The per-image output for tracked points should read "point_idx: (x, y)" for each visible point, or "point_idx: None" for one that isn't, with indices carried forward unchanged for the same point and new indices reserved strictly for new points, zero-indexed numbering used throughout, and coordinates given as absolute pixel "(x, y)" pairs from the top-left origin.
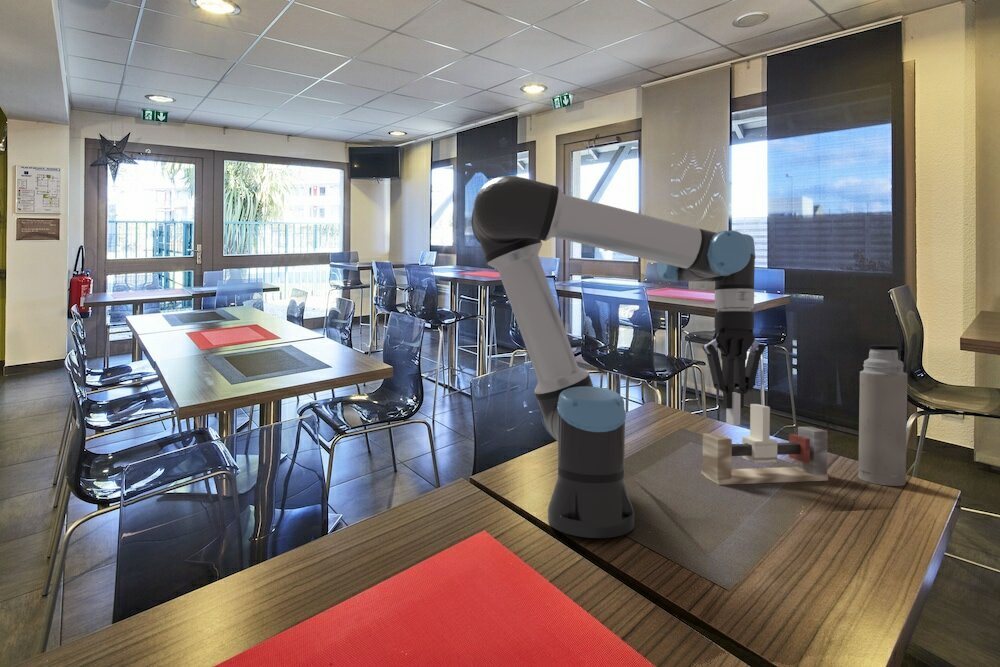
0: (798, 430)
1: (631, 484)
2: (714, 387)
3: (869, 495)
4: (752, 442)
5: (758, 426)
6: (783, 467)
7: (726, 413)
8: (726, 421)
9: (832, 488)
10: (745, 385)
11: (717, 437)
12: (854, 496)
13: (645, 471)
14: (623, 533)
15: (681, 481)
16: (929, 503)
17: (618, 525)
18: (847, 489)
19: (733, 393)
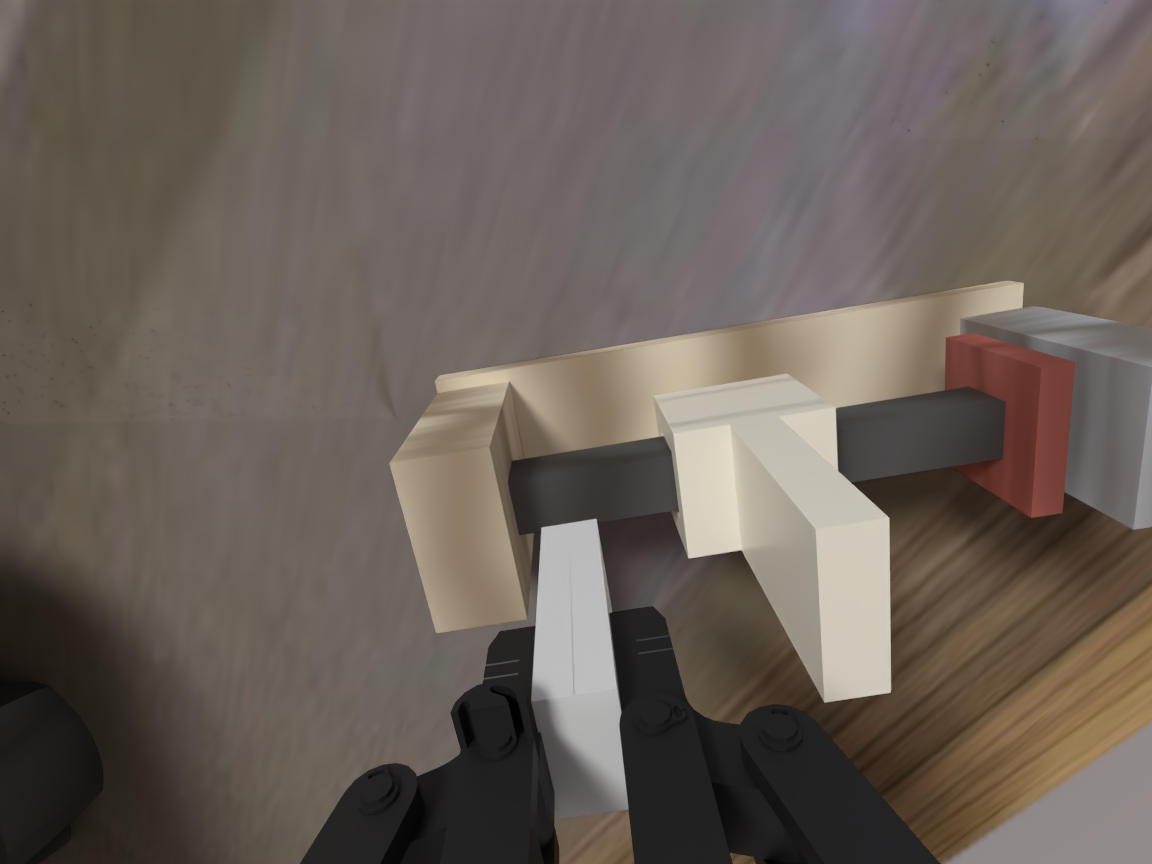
0: (1130, 367)
1: (91, 533)
2: (353, 793)
3: (1005, 615)
4: (684, 531)
5: (762, 552)
6: (895, 306)
7: (539, 569)
8: (541, 537)
9: (931, 543)
10: (738, 852)
11: (452, 581)
12: (939, 629)
13: (159, 320)
14: None
15: (320, 481)
16: (1138, 682)
17: None
18: (982, 552)
19: (567, 794)
